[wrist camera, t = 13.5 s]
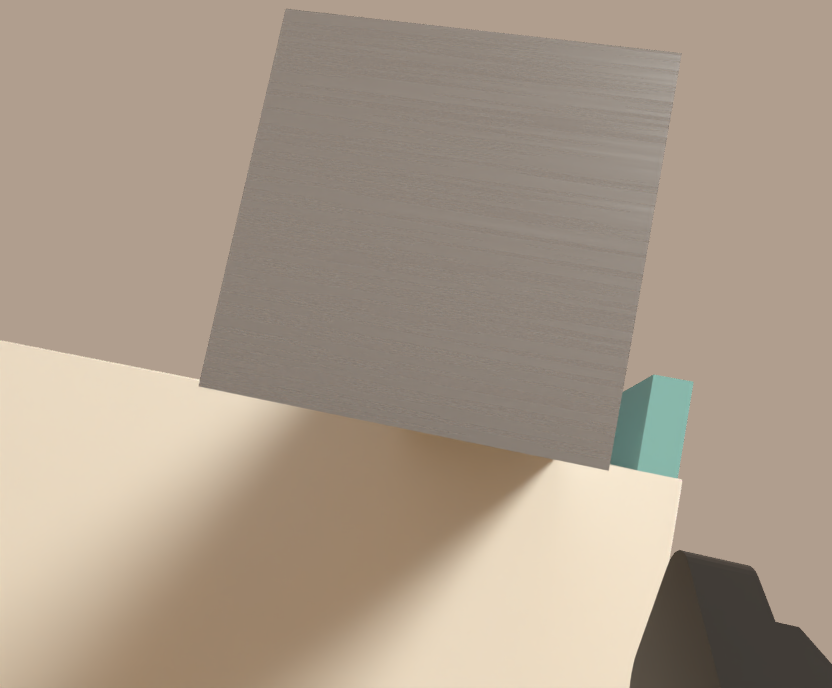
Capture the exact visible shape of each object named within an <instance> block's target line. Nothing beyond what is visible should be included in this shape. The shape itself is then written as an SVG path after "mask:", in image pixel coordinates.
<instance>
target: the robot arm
mask: <svg viewBox="0 0 832 688" xmlns="http://www.w3.org/2000/svg"><path fill="white" fill-rule="evenodd" d="M630 688H832V664H831V663H830V662H829V661H828V659H827V658H826V657H825V656H824V655H823V654H822V653H821V652H820V650H819V649H818V648H817V647H816V646H815V645H814V643H813V642H812V641H811V640H810V639H809V638H808V637H807V636H806V634H805V633H804V632H803V631H802V630H801V629H800V628H799V627H795V626H791V625H787V624H782V623H778V622H775V620H774V617H773V614H772V612H771V609H770V606H769V604H768V601H767V599H766V596H765V593H764V591H763V588H762V586H761V583H760V580H759V578H758V576H757V573H756V571H755V570H754V569H753V568H752V567H751V566H748V565H744V564H739V563H734V562H730V561H725V560H721V559H716V558H712V557H707V556H703V555H699V554H694V553H690V552H685V551H681V550H679V551H677V552H675V553H674V555H673V556H672V557H671V559H670V561H669V563H668V566H667V568H666V571H665V574H664V577H663V579H662V582H661V585H660V588H659V591H658V594H657V596H656V599H655V602H654V605H653V608H652V610H651V613H650V616H649V619H648V622H647V625H646V627H645V630H644V633H643V636H642V639H641V642H640V644H639V647H638V650H637V653H636V656H635V659H634V663H633V668H632V673H631V679H630Z"/></svg>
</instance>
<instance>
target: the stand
mask: <svg viewBox="0 0 832 688" xmlns="http://www.w3.org/2000/svg"><path fill="white" fill-rule="evenodd" d="M199 382H200V380H198V379H193V378H188V377H184V376H179V375H173V374H168V373H163V372H158V371H153V370H148V369H143V368H138V367H133V366H128V365H122V364H118V363H113V362H108V361H103V360H97V359H92V358H87V357H82V356H77V355H72V354H67V353H62V352H57V351H52V350H47V349H41V348H36V347H31V346H27V345H21V344H16V343H11V342H6V341H1V340H0V688H630V679H631V673H632V668H633V663H634V659H635V656H636V653H637V650H638V647H639V644H640V642H641V639H642V636H643V633H644V630H645V627H646V625H647V622H648V619H649V616H650V613H651V610H652V608H653V605H654V602H655V599H656V596H657V594H658V591H659V588H660V585H661V582H662V579H663V577H664V574H665V571H666V568H667V566H668V563H669V558H670V553H671V547H672V541H673V534H674V528H675V522H676V516H677V510H678V504H679V498H680V492H681V486H682V479H677V478H672V477H667V476H662V475H657V474H652V473H647V472H642V471H637V470H633V469H629V468H625V467H621V466H616V465H612V464H610V467H609V471H607V470H602V469H598V468H593V467H588V466H583V465H578V464H573V463H568V462H563V461H559V460H554V459H549V458H544V457H539V456H534V455H529V454H525V453H520V452H515V451H510V450H505V449H500V448H495V447H491V446H486V445H481V444H476V443H471V442H466V441H461V440H456V439H452V438H447V437H442V436H437V435H432V434H427V433H422V432H418V431H413V430H408V429H403V428H398V427H393V426H388V425H383V424H379V423H374V422H369V421H364V420H359V419H354V418H349V417H345V416H340V415H335V414H330V413H325V412H320V411H315V410H311V409H306V408H301V407H296V406H291V405H286V404H281V403H276V402H272V401H267V400H262V399H257V398H252V397H247V396H242V395H238V394H233V393H228V392H223V391H218V390H213V389H208V388H204V387H199Z"/></svg>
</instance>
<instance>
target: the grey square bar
mask: <svg viewBox="0 0 832 688" xmlns="http://www.w3.org/2000/svg"><path fill="white" fill-rule="evenodd" d="M680 60H681V53H674V52H665V51H657V50H648V49H639V48H629V47H621V46H612V45H602V44H594V43H585V42H576V41H567V40H559V39H550V38H541V37H532V36H522V35H514V34H505V33H496V32H487V31H479V30H470V29H461V28H451V27H443V26H434V25H425V24H416V23H408V22H399V21H390V20H381V19H372V18H363V17H354V16H345V15H336V14H328V13H318V12H309V11H300V10H292V9H286V10H285V14H284V19H283V23H282V27H281V32H280V36H279V40H278V45H277V49H276V53H275V57H274V62H273V66H272V70H271V75H270V80H269V84H268V88H267V92H266V96H265V101H264V105H263V109H262V114H261V118H260V123H259V127H258V131H257V135H256V140H255V144H254V148H253V153H252V157H251V161H250V166H249V170H248V174H247V179H246V183H245V187H244V192H243V196H242V200H241V204H240V209H239V213H238V218H237V222H236V226H235V231H234V235H233V239H232V243H231V248H230V253H229V257H228V261H227V265H226V269H225V274H224V278H223V283H222V287H221V291H220V295H219V300H218V304H217V309H216V313H215V317H214V321H213V326H212V330H211V334H210V339H209V344H208V347H207V352H206V356H205V360H204V364H203V369H202V373H201V377H200V382H199V387H204V388H208V389H213V390H218V391H223V392H228V393H233V394H238V395H242V396H247V397H252V398H257V399H262V400H267V401H272V402H276V403H281V404H286V405H291V406H296V407H301V408H306V409H311V410H315V411H320V412H325V413H330V414H335V415H340V416H345V417H349V418H354V419H359V420H364V421H369V422H374V423H379V424H383V425H388V426H393V427H398V428H403V429H408V430H413V431H418V432H422V433H427V434H432V435H437V436H442V437H447V438H452V439H456V440H461V441H466V442H471V443H476V444H481V445H486V446H491V447H495V448H500V449H505V450H510V451H515V452H520V453H525V454H529V455H534V456H539V457H544V458H549V459H554V460H559V461H563V462H568V463H573V464H578V465H583V466H588V467H593V468H598V469H602V470H607V471H609V467H610V461H611V455H612V449H613V444H614V438H615V432H616V427H617V421H618V415H619V409H620V404H621V398H622V392H623V386H624V381H625V375H626V369H627V363H628V358H629V352H630V346H631V341H632V335H633V329H634V323H635V317H636V312H637V305H638V301H639V295H640V289H641V283H642V277H643V272H644V266H645V260H646V254H647V249H648V243H649V237H650V232H651V226H652V220H653V214H654V209H655V203H656V197H657V192H658V186H659V180H660V174H661V169H662V163H663V157H664V152H665V146H666V140H667V134H668V129H669V123H670V117H671V111H672V106H673V100H674V94H675V89H676V83H677V77H678V71H679V65H680Z"/></svg>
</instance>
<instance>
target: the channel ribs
mask: <svg viewBox="0 0 832 688" xmlns="http://www.w3.org/2000/svg"><path fill="white" fill-rule="evenodd" d="M692 387H693V382H691V381H686V380H680V379H675V378H669V377H664V376H658V375H652V376H650V377H649V378H647V379H645V380H643V381H642V382H640V383H638V384H636V385H635V386H633V387H631V388H629V389H628V390H626V391H624V392H622V398H621V404H620V409H619V415H618V421H617V427H616V432H615V438H614V444H613V449H612V455H611V461H610V464H612V465H616V466H621V467H625V468H629V469H633V470H637V471H642V472H647V473H652V474H657V475H662V476H667V477H672V478H677V479H678V473H679V466H680V460H681V454H682V448H683V442H684V436H685V430H686V424H687V418H688V412H689V406H690V400H691V394H692Z"/></svg>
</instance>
